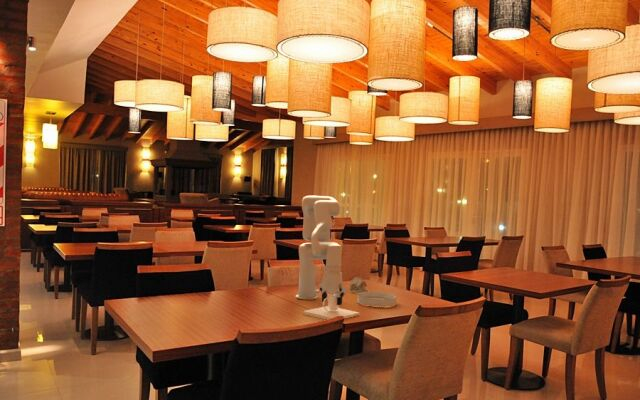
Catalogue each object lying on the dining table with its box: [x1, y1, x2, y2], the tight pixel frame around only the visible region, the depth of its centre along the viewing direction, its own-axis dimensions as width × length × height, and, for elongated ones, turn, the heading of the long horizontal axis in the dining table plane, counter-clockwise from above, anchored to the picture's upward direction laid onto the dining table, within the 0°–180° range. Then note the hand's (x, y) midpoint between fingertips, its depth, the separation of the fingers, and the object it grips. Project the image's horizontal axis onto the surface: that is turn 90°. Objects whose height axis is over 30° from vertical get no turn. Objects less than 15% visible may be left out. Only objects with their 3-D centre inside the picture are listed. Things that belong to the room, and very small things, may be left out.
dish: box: [356, 291, 397, 307], centre depth 294 cm, size 22×22×5 cm
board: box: [302, 305, 360, 321], centre depth 261 cm, size 20×20×2 cm
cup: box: [322, 293, 340, 312], centre depth 262 cm, size 7×10×8 cm
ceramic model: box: [347, 276, 369, 293], centre depth 326 cm, size 14×11×10 cm
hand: (331, 303), depth 261 cm, fingers open, 9 cm apart
